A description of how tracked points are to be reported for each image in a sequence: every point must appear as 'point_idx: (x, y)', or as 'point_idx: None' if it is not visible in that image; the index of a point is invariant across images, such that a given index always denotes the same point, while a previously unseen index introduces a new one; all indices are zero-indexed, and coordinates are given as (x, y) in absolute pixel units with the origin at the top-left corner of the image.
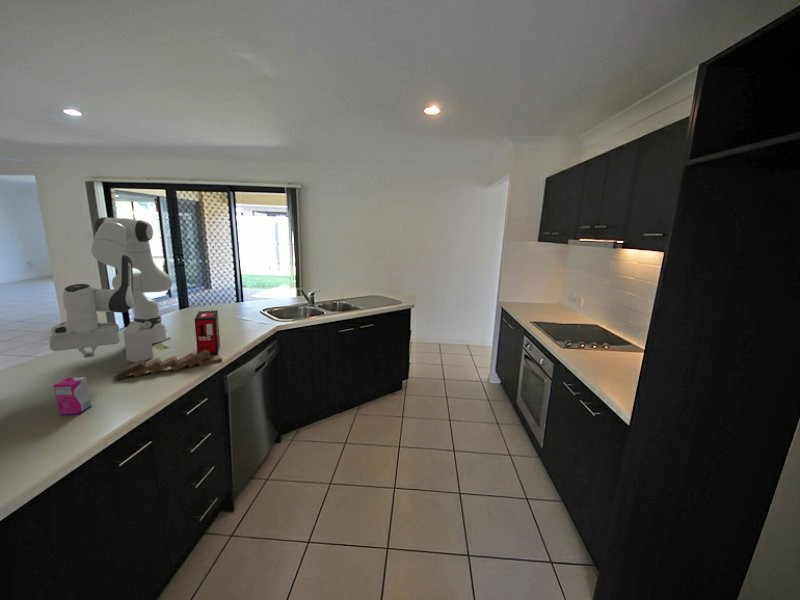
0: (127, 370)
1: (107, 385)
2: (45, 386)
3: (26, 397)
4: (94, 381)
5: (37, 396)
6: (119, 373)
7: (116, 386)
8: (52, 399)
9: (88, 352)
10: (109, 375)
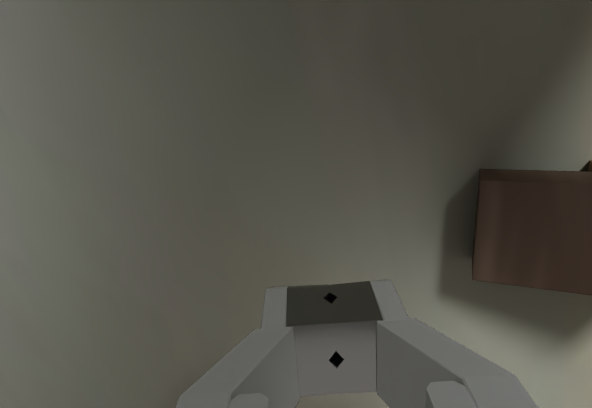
0: (584, 291)
1: None
2: (23, 179)
3: (16, 326)
4: (324, 217)
5: (73, 334)
6: (513, 277)
7: None
8: None
9: (328, 342)
10: (404, 128)
